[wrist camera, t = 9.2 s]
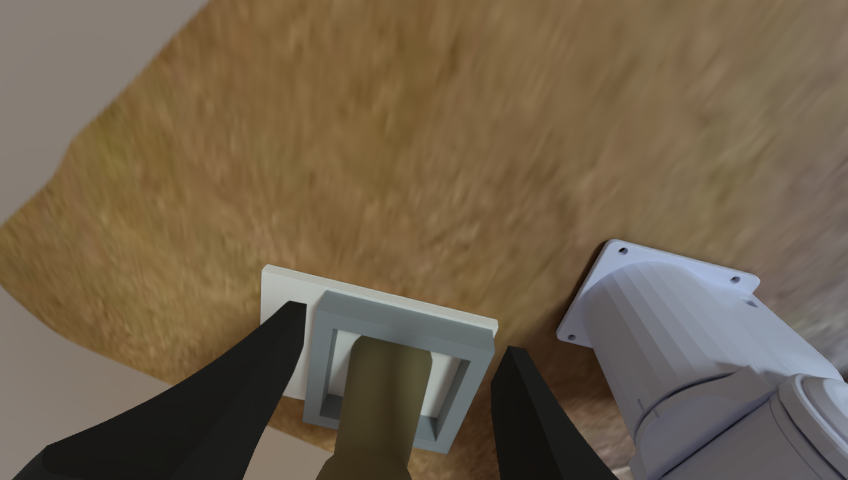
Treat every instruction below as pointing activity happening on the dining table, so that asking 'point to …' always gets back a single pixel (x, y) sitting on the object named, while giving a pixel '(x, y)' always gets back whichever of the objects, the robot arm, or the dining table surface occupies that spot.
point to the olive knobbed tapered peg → (379, 411)
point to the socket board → (386, 320)
